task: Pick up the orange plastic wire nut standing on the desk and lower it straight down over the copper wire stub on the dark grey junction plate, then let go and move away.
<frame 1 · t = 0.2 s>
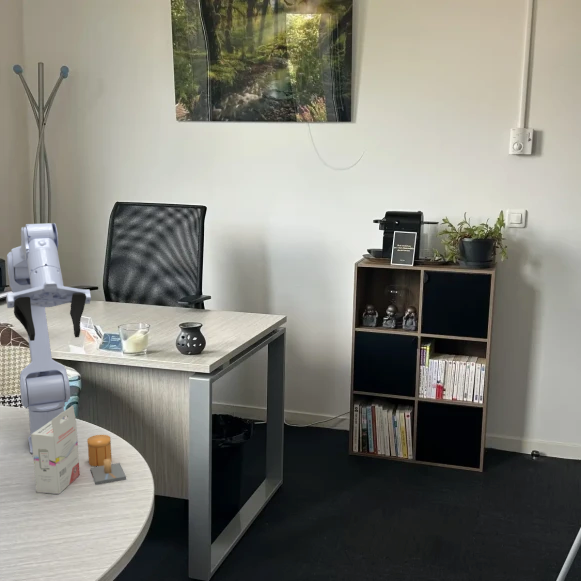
hand: (55, 335, 130), 31 cm above the table, tool tilted 45°, fingers open, 7 cm apart
ink cartridge box: (58, 485, 141), on the table
wire nut: (100, 461, 151), on the table
plate: (108, 474, 145), on the table
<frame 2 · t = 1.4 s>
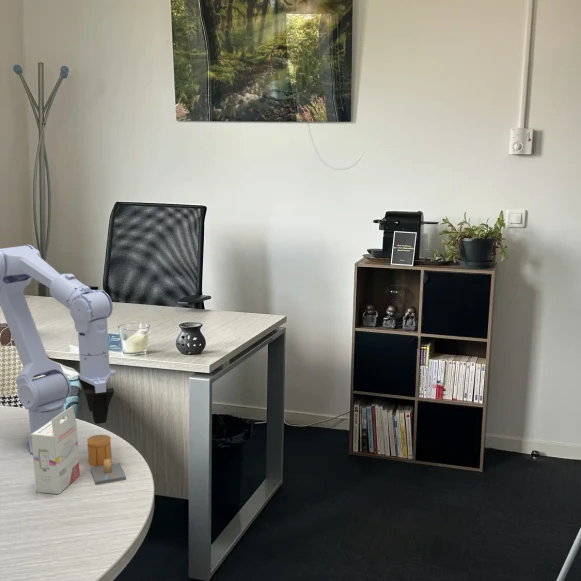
hand: (97, 416, 149), 10 cm above the table, tool pointing down, fingers open, 7 cm apart
nothing on the table moved.
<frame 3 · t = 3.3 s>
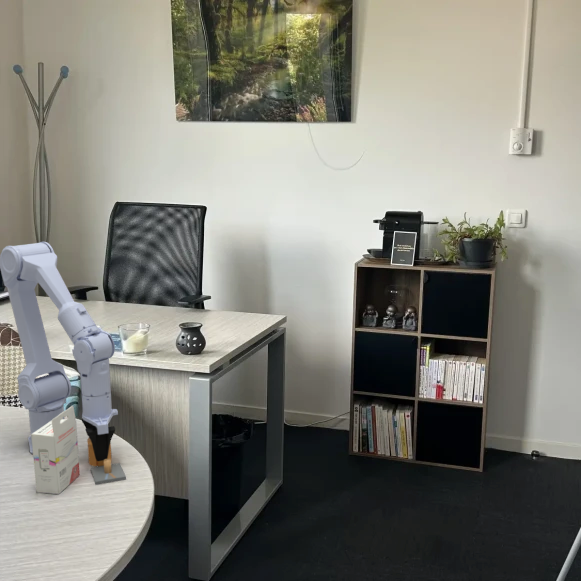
hand: (99, 455, 151), 1 cm above the table, tool pointing down, fingers closed on wire nut, 4 cm apart
wire nut: (100, 461, 151), on the table, touching gripper
everything else where it was.
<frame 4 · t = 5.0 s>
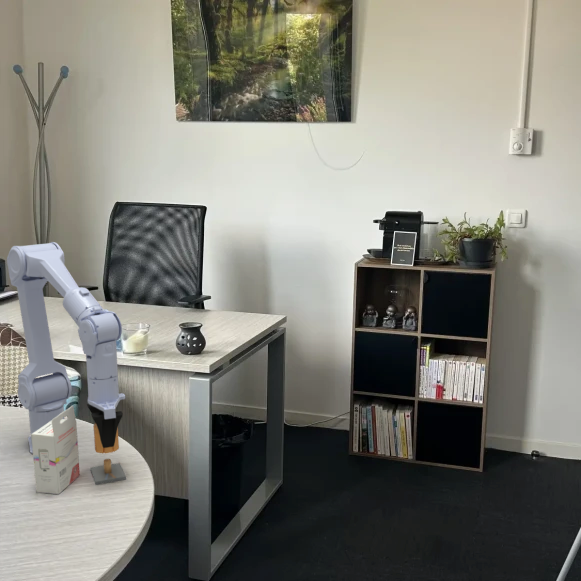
hand: (106, 442, 144), 7 cm above the table, tool pointing down, fingers closed on wire nut, 4 cm apart
wire nut: (106, 448, 144), point 5 cm above the table, touching gripper
everything else where it was.
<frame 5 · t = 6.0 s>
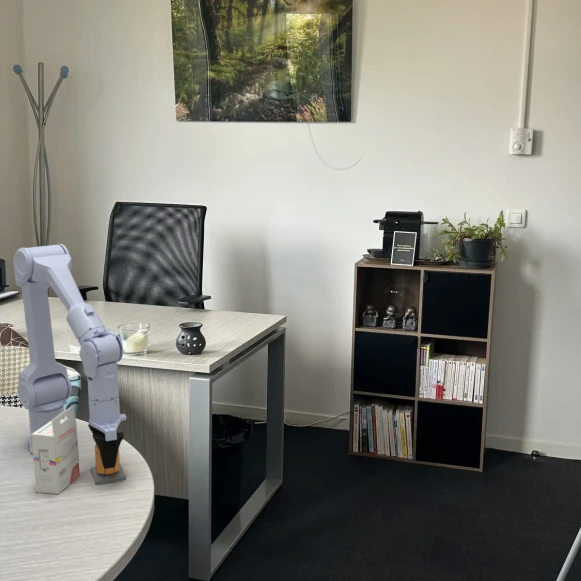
hand: (107, 462, 144), 3 cm above the table, tool pointing down, fingers closed on wire nut, 4 cm apart
wire nut: (108, 469, 145), point 1 cm above the table, touching gripper
everything else where it was.
when the fingers open (3 cm above the table, at t = 6.7 s): wire nut stays where it is, resting on plate.
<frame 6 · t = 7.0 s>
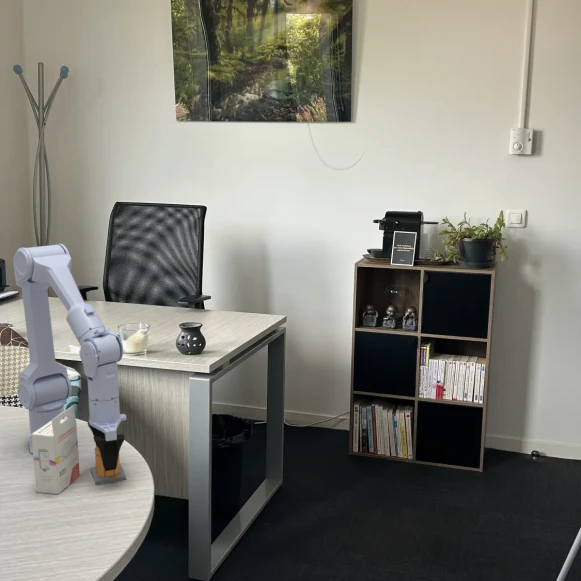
hand: (107, 462, 144), 3 cm above the table, tool pointing down, fingers open, 7 cm apart
wire nut: (108, 471, 145), point 1 cm above the table, touching plate
everything else where it was.
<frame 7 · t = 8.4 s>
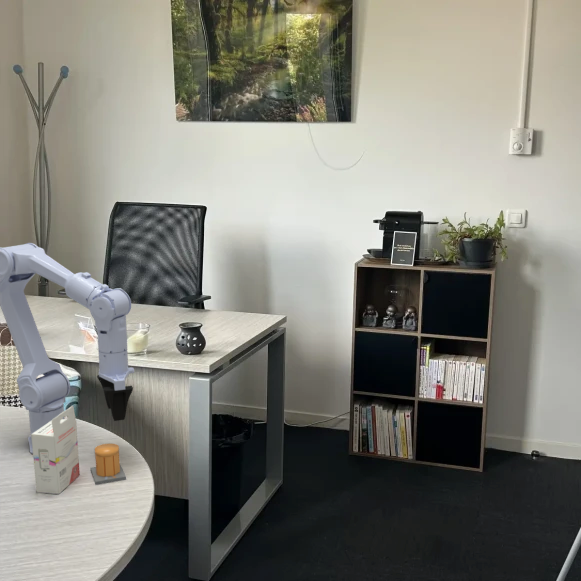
hand: (116, 413, 151), 10 cm above the table, tool pointing down, fingers open, 7 cm apart
nothing on the table moved.
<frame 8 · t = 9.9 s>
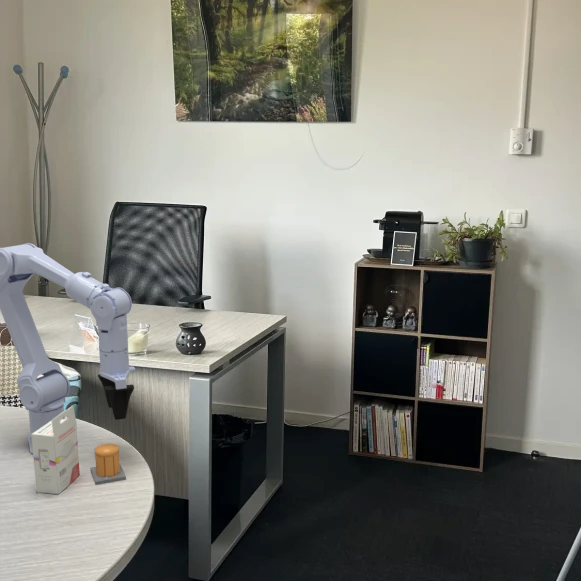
hand: (117, 412, 151), 10 cm above the table, tool pointing down, fingers open, 7 cm apart
nothing on the table moved.
at the end: wire nut 0.0 cm from the plate (horizontally); wire nut point 0.6 cm above the table; wire nut tilted 1° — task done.
